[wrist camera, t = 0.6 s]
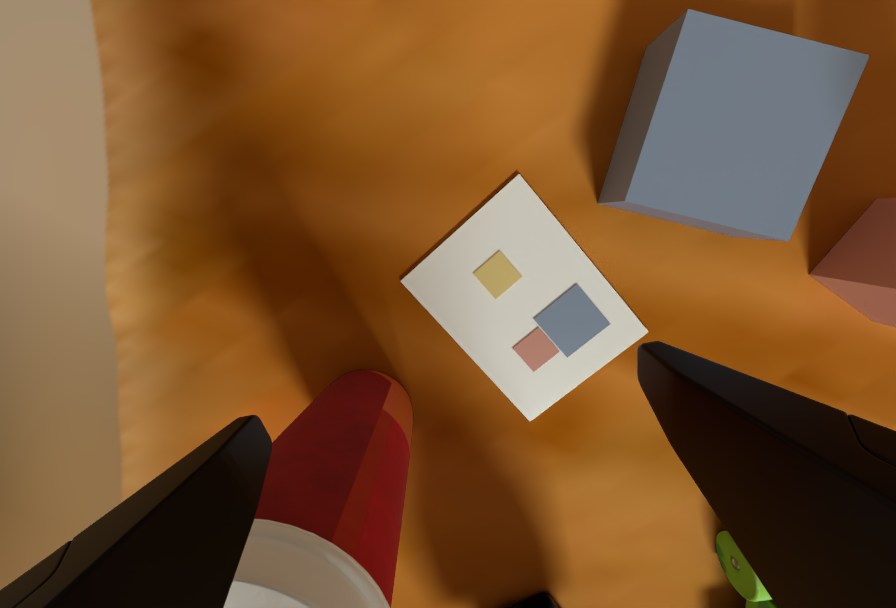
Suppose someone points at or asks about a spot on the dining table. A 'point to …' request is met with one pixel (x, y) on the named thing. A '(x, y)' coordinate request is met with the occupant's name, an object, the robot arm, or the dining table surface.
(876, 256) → the brick column
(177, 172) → the dining table surface
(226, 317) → the dining table surface
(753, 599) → the green bumpy elongated piece
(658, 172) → the base brick
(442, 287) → the page
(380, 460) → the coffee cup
